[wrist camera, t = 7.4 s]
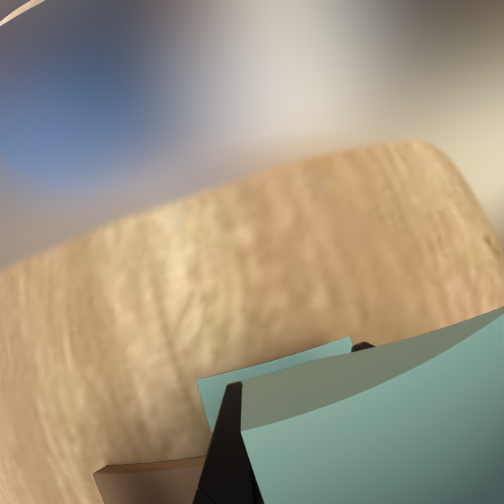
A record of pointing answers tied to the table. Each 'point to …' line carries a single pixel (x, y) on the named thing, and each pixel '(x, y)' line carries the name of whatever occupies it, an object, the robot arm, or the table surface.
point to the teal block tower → (377, 419)
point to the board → (150, 482)
